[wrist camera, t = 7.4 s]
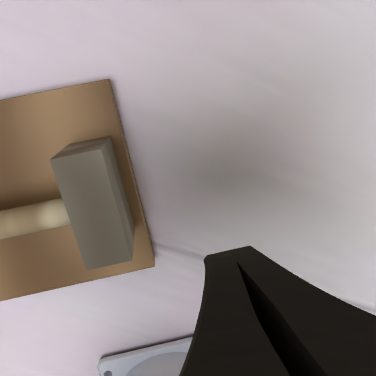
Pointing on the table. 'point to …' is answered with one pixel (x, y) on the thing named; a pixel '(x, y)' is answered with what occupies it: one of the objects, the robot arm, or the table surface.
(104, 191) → the cord rig
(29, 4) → the table surface
